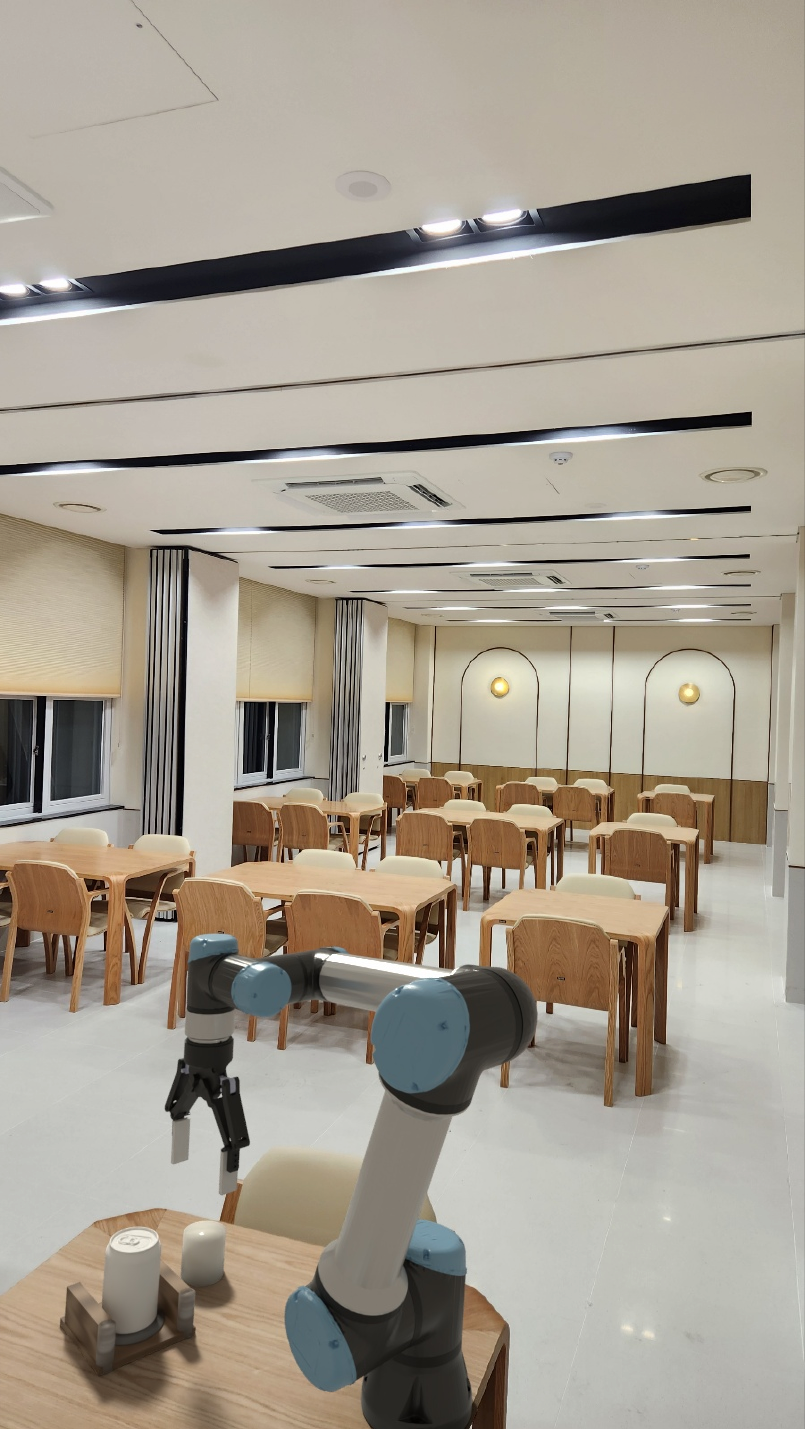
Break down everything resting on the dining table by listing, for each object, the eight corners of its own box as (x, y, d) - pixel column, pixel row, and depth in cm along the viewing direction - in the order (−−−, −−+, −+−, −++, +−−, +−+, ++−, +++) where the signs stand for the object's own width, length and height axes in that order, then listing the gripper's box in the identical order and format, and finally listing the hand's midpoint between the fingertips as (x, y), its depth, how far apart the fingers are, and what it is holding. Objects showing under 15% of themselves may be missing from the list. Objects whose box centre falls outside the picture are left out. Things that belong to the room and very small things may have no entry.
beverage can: (139, 1342, 131) (145, 1258, 131) (89, 1331, 132) (95, 1248, 133) (166, 1309, 138) (171, 1229, 139) (118, 1299, 140) (123, 1220, 141)
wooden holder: (195, 1334, 135) (198, 1293, 135) (99, 1376, 125) (102, 1332, 125) (152, 1288, 146) (154, 1251, 146) (59, 1324, 136) (62, 1283, 136)
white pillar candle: (231, 1276, 150) (234, 1233, 151) (193, 1291, 146) (196, 1247, 146) (209, 1257, 155) (212, 1216, 156) (173, 1271, 151) (175, 1228, 151)
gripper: (277, 1051, 134) (271, 1197, 133) (187, 1014, 152) (181, 1143, 151) (235, 1061, 129) (228, 1214, 128) (147, 1022, 147) (140, 1156, 145)
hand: (202, 1176), depth 139 cm, fingers open, 13 cm apart
